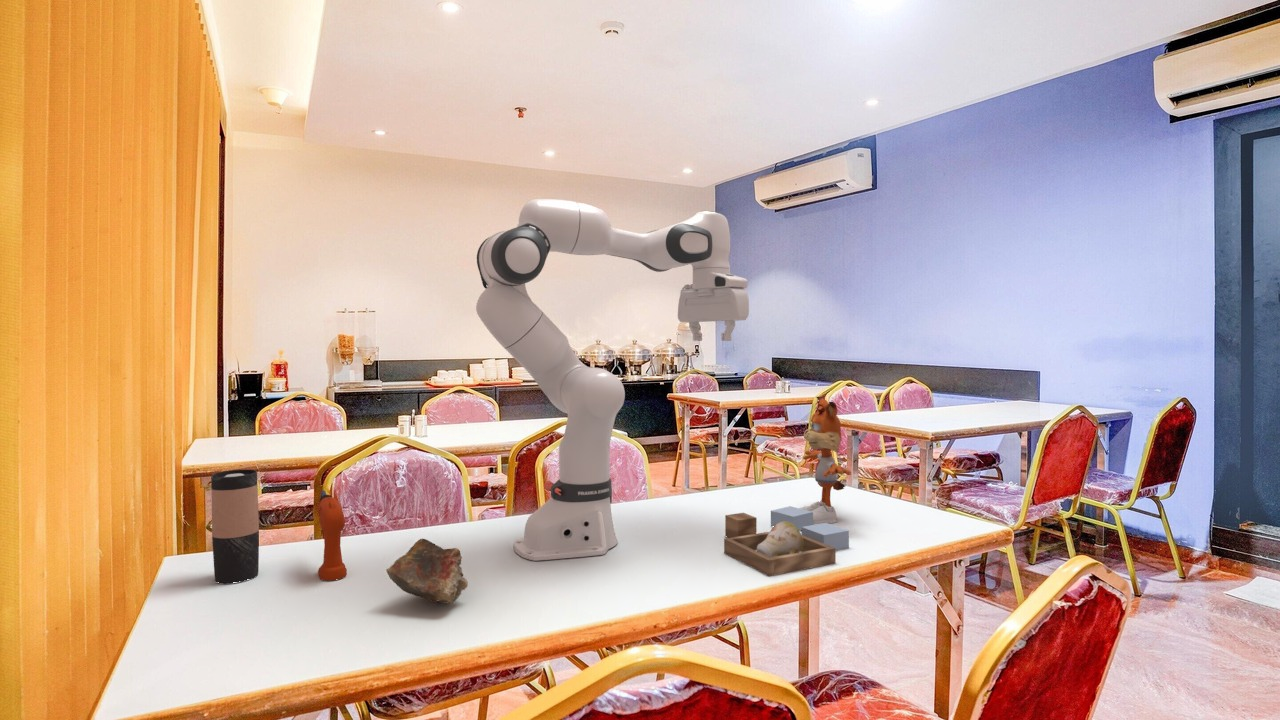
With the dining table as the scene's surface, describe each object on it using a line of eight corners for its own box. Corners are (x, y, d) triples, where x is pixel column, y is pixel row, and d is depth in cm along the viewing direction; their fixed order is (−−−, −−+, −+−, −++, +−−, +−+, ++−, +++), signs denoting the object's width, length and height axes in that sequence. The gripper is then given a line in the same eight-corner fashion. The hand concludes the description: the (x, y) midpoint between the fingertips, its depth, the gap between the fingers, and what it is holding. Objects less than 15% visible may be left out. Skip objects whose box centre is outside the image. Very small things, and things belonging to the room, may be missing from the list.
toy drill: (335, 544, 143) (335, 476, 141) (349, 582, 127) (349, 507, 125) (310, 548, 141) (309, 479, 139) (321, 587, 125) (320, 510, 123)
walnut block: (737, 542, 148) (737, 520, 148) (725, 536, 153) (725, 515, 153) (756, 539, 151) (756, 517, 150) (743, 534, 155) (743, 512, 155)
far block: (793, 533, 156) (793, 516, 155) (770, 527, 161) (770, 510, 161) (813, 528, 160) (813, 511, 160) (790, 522, 165) (790, 506, 165)
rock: (442, 585, 123) (441, 531, 123) (488, 600, 116) (487, 543, 116) (382, 607, 113) (381, 549, 113) (429, 625, 106) (428, 562, 106)
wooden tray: (768, 576, 127) (768, 560, 127) (724, 552, 141) (724, 538, 141) (835, 563, 134) (835, 548, 134) (786, 542, 148) (786, 528, 148)
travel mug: (263, 568, 133) (260, 468, 132) (256, 581, 126) (253, 475, 125) (218, 573, 130) (215, 471, 129) (208, 587, 123) (206, 478, 122)
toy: (788, 504, 182) (788, 393, 181) (830, 504, 182) (830, 393, 181) (812, 536, 152) (812, 404, 151) (862, 536, 152) (863, 404, 151)
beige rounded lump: (745, 560, 137) (755, 513, 141) (780, 575, 141) (789, 528, 145) (769, 561, 131) (779, 512, 135) (805, 577, 135) (814, 528, 138)
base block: (823, 554, 141) (823, 535, 141) (801, 545, 147) (801, 527, 147) (848, 549, 144) (848, 530, 144) (825, 540, 150) (826, 522, 150)
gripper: (671, 284, 164) (671, 341, 164) (734, 278, 148) (734, 341, 148) (690, 285, 168) (690, 340, 168) (753, 279, 152) (753, 340, 152)
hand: (711, 341), depth 158 cm, fingers open, 8 cm apart
